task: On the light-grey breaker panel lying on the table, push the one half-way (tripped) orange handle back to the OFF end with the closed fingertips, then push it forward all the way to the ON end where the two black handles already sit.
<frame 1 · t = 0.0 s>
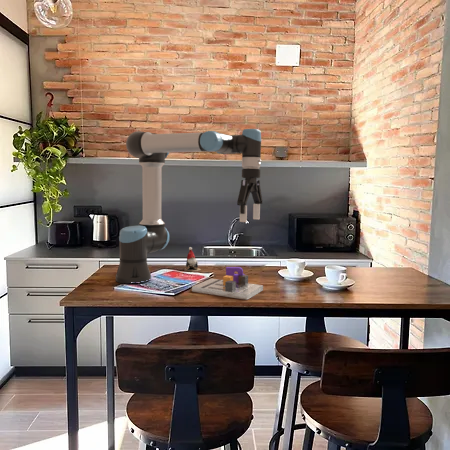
hand: (249, 220, 175), 28 cm above the table, fingers open, 13 cm apart
figurine: (192, 270, 211), on the table
panel: (227, 290, 172), on the table
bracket: (235, 281, 183), point 1 cm above the table, touching panel
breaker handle: (228, 280, 172), point 4 cm above the table, slide at 4.0 cm
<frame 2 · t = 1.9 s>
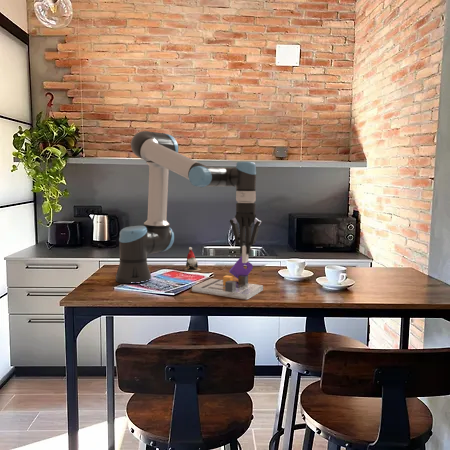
hand: (245, 262, 167), 12 cm above the table, fingers closed
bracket: (236, 275, 183), point 4 cm above the table, touching panel
everything else where it was.
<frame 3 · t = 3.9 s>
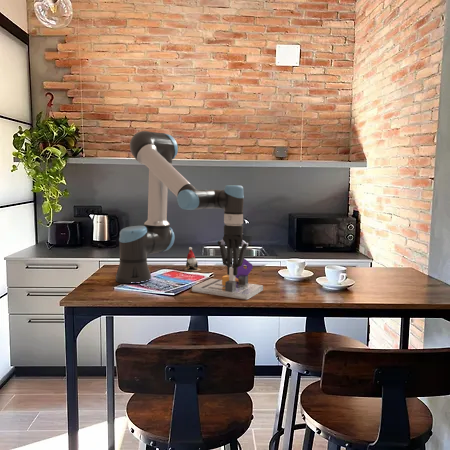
hand: (232, 283, 171), 3 cm above the table, fingers closed
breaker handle: (227, 280, 172), point 4 cm above the table, slide at 3.6 cm, touching gripper
everything else where it was.
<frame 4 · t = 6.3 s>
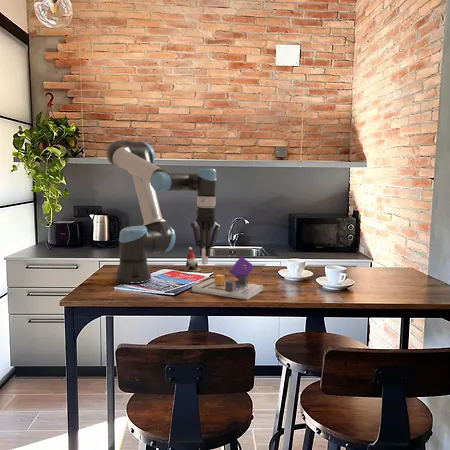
hand: (204, 263, 176), 10 cm above the table, fingers closed
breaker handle: (219, 279, 173), point 4 cm above the table, slide at 0.2 cm
everything else where it was.
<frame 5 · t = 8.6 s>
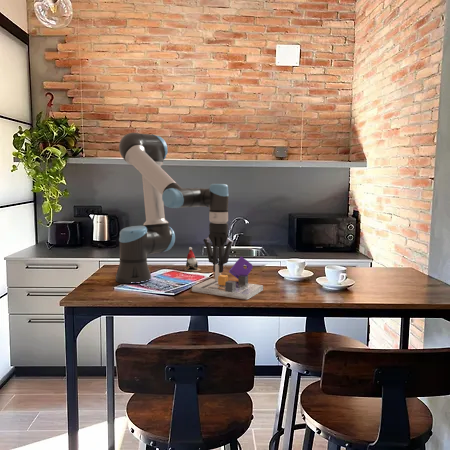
hand: (218, 280, 174), 4 cm above the table, fingers closed
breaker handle: (223, 280, 173), point 4 cm above the table, slide at 1.7 cm, touching gripper
everything else where it was.
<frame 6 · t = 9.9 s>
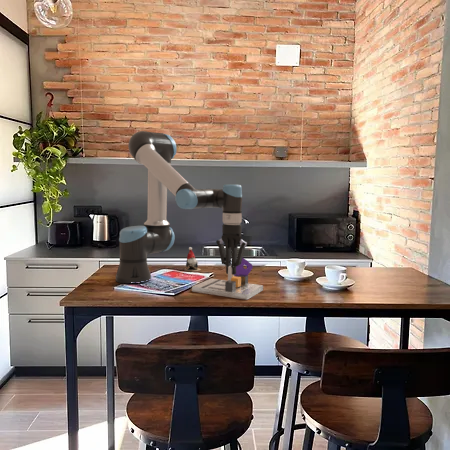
hand: (230, 282, 171), 4 cm above the table, fingers closed
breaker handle: (236, 281, 170), point 4 cm above the table, slide at 7.5 cm, touching gripper
everything else where it was.
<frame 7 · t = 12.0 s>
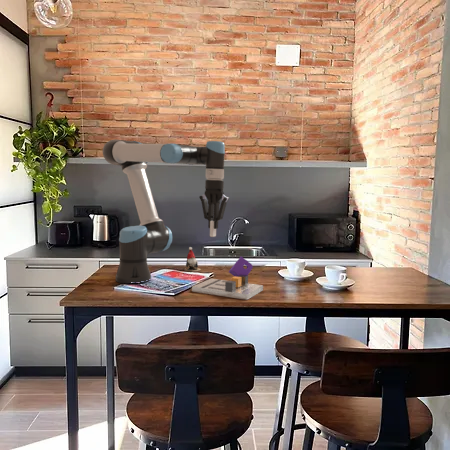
hand: (212, 236, 178), 21 cm above the table, fingers closed
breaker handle: (236, 281, 170), point 4 cm above the table, slide at 7.7 cm
everything else where it was.
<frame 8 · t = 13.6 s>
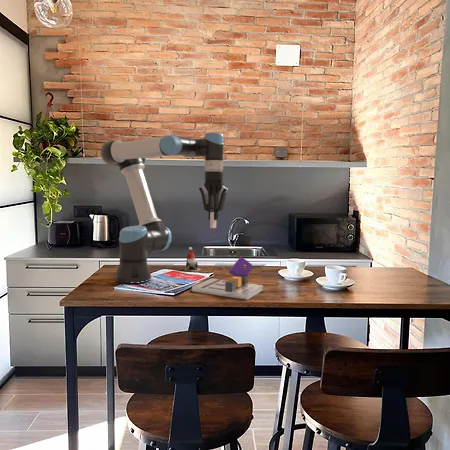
hand: (213, 227, 179), 24 cm above the table, fingers closed
nothing on the table moved.
at the end: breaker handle slide at 7.7 cm; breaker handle touching nothing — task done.
